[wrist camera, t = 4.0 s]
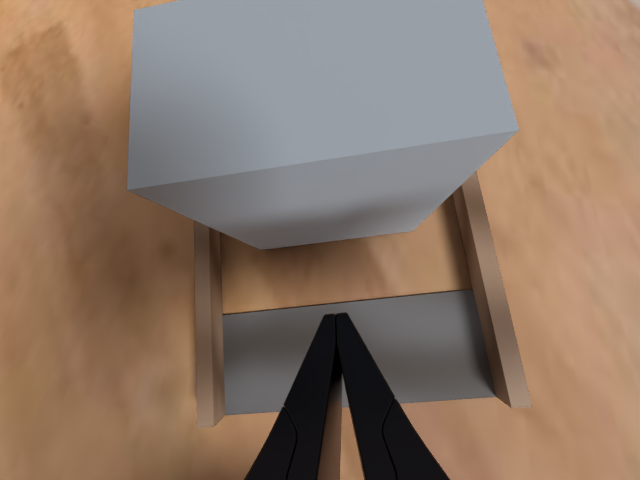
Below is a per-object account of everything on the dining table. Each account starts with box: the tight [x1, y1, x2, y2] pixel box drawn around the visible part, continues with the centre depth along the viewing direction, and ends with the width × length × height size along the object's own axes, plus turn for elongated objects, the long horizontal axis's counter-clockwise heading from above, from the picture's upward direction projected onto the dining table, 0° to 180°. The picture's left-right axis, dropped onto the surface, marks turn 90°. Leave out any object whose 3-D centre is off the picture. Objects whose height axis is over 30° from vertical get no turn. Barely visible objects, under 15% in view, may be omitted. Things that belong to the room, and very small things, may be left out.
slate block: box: [127, 0, 519, 250], centre depth 13 cm, size 6×10×11 cm, turn 96°
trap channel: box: [194, 171, 532, 428], centre depth 18 cm, size 33×18×2 cm, turn 6°
